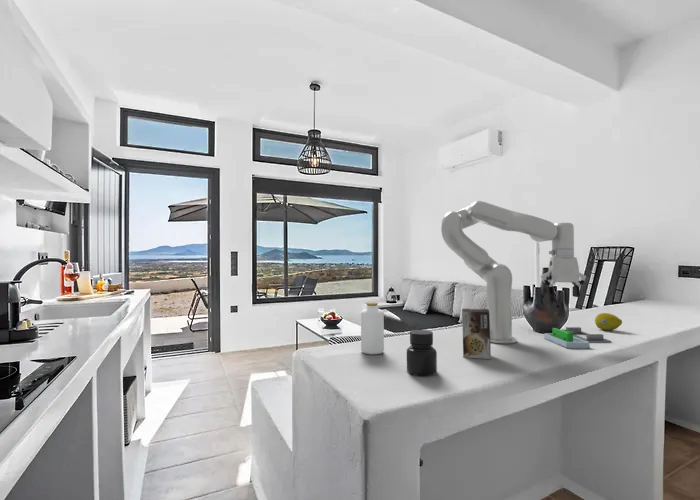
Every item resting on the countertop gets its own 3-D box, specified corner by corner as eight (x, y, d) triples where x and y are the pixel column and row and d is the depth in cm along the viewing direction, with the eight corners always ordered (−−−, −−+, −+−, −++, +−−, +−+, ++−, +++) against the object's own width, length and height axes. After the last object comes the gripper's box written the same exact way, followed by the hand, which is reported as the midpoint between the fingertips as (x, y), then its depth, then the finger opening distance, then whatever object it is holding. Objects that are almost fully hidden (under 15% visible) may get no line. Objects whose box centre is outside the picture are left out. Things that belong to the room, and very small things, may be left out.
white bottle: (387, 350, 130) (386, 302, 131) (379, 356, 123) (378, 304, 123) (366, 348, 134) (365, 301, 134) (357, 354, 126) (357, 303, 127)
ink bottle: (444, 373, 104) (443, 333, 105) (422, 379, 100) (422, 336, 100) (420, 365, 113) (420, 327, 113) (399, 370, 108) (399, 331, 108)
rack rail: (588, 342, 140) (588, 336, 140) (559, 332, 160) (559, 326, 160) (611, 342, 140) (611, 335, 140) (579, 331, 160) (579, 326, 160)
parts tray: (566, 348, 132) (566, 342, 132) (544, 338, 147) (544, 333, 147) (589, 348, 132) (589, 342, 132) (565, 338, 147) (565, 333, 147)
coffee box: (490, 354, 124) (489, 308, 124) (491, 359, 118) (490, 311, 118) (462, 352, 127) (462, 307, 127) (462, 357, 121) (461, 310, 121)
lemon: (590, 329, 166) (589, 312, 166) (601, 327, 169) (601, 311, 169) (614, 333, 156) (613, 315, 156) (625, 332, 159) (625, 314, 159)
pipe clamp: (577, 345, 134) (577, 333, 134) (567, 345, 134) (567, 333, 134) (561, 338, 145) (561, 327, 145) (552, 338, 145) (552, 327, 145)
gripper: (545, 253, 137) (546, 297, 137) (591, 253, 137) (591, 297, 136) (536, 253, 145) (536, 295, 144) (579, 253, 144) (579, 295, 144)
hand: (563, 296), depth 140 cm, fingers open, 9 cm apart
